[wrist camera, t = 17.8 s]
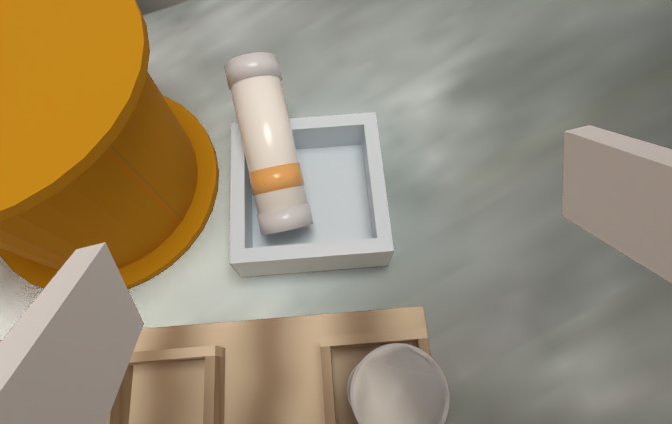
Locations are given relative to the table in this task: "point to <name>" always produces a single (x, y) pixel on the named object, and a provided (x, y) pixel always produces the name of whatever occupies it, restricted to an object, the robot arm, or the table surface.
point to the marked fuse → (268, 142)
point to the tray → (318, 202)
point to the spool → (93, 143)
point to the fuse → (398, 387)
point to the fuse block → (257, 368)
